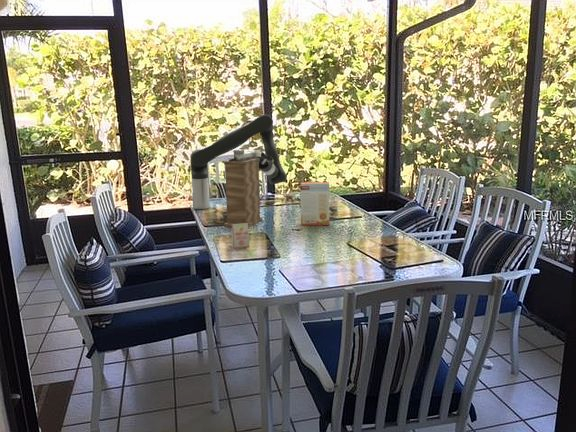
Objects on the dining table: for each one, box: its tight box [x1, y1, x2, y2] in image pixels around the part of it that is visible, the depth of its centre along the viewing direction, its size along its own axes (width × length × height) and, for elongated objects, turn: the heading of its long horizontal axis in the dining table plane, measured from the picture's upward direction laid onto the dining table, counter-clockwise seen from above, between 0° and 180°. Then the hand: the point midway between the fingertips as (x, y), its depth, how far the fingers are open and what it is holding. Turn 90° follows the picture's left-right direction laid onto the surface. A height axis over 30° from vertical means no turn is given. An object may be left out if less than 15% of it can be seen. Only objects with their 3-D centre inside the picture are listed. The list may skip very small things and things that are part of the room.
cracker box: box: [300, 181, 330, 226], centre depth 245 cm, size 14×6×21 cm, turn 84°
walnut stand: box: [223, 156, 264, 229], centre depth 247 cm, size 18×12×33 cm, turn 157°
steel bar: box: [233, 149, 262, 161], centre depth 248 cm, size 22×4×5 cm, turn 157°
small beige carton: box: [230, 223, 250, 249], centre depth 210 cm, size 4×7×10 cm, turn 105°
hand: (254, 153), depth 254 cm, fingers open, 8 cm apart
